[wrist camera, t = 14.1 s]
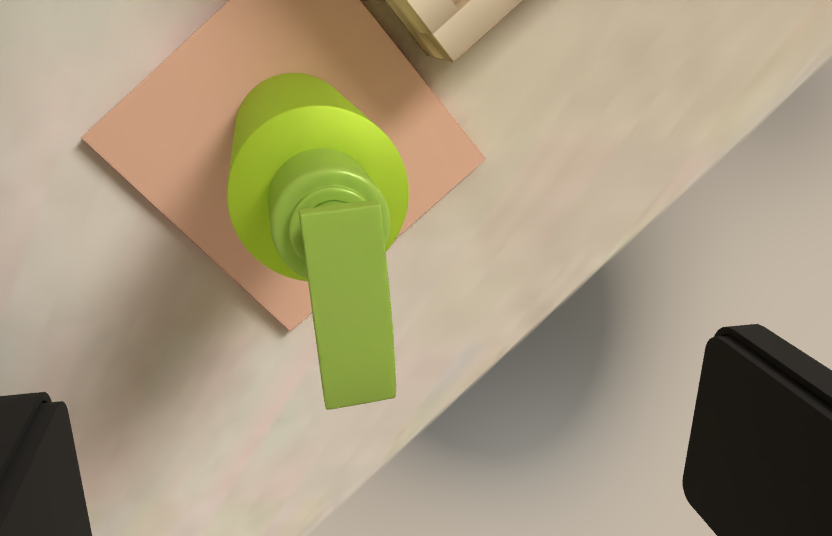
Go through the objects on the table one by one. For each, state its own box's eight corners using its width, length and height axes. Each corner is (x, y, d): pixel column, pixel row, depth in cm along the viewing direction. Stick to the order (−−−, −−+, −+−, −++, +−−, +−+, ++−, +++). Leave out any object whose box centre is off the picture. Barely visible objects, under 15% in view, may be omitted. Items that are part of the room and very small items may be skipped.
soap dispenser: (247, 218, 36) (247, 435, 18) (225, 78, 33) (196, 158, 15) (362, 204, 37) (475, 394, 19) (348, 67, 34) (462, 129, 16)
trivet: (83, 135, 34) (81, 137, 33) (303, -68, 33) (304, -70, 32) (289, 326, 39) (290, 331, 38) (482, 156, 38) (485, 158, 38)
